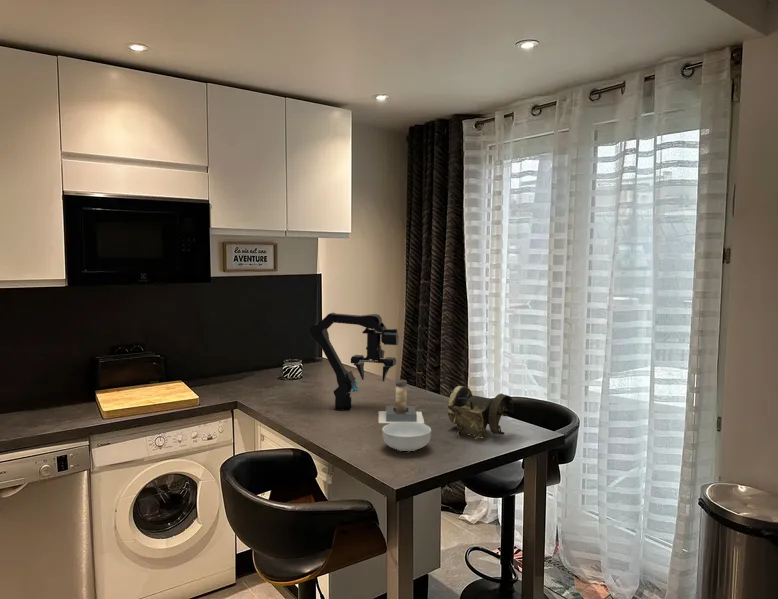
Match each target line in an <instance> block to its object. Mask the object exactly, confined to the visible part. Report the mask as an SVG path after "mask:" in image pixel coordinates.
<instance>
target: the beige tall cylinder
mask: <svg viewBox="0 0 778 599" xmlns="http://www.w3.org/2000/svg"><path fill="white" fill-rule="evenodd" d="M407 385H408V382H407V380H406V379H397V380H395V405H394V406H395V412H406V406H407V390H408V388H407Z"/></svg>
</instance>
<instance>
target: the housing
mask: <svg viewBox="0 0 778 599" xmlns="http://www.w3.org/2000/svg"><path fill="white" fill-rule="evenodd" d="M385 411H386V421H388V422H417V413H416V412H417V410H416V406H415V405H406V412H395V405H385Z"/></svg>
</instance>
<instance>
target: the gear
mask: <svg viewBox="0 0 778 599" xmlns="http://www.w3.org/2000/svg"><path fill="white" fill-rule="evenodd" d="M355 381H356V380H355ZM358 383H359V380H357V381H356V384H355V387H354V388H353V389H352V390H351V391H353V392H354V390H356V391H357V389H358V387H359V385H357V384H358Z"/></svg>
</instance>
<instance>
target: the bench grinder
mask: <svg viewBox="0 0 778 599" xmlns="http://www.w3.org/2000/svg"><path fill="white" fill-rule="evenodd" d="M514 409H515V407H514V401H513V398H512V397H511V396H510V395H508V394H503V393H498V394H497V395H496V396H495V397H494V398H493V399H492V398H490V397H483V396H479V395H473V393H472V391H471V389H470V388H469V387H468V386H461V385H458V386H456V387H455V388H453V390H451V393H450V396H449V399H448V402H447V416H448V419H449V421H450V422H451V423H452V424H455V425H456V428H457V433H456V435H457V436H459V434H462V433H465V434H464V435H466V434H470V435H475V436H477V437H474V440H477V439H478V437H483V438H486V439H487V436H488V434H487V431H486V429H487V426H488V427H489V430H490V431H491V433H492V434H495V435H498V436H504V435H505V432H504V431H502V428H501V425H499V423H500V420H501V417H508V414H507V413H504V412H510V413H514ZM459 432H461V433H459ZM470 435H469V436H470Z"/></svg>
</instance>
